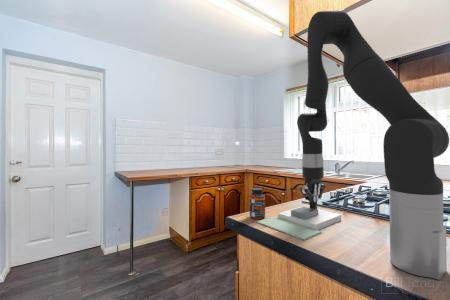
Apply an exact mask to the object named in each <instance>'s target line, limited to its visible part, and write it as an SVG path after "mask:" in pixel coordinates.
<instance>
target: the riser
mask: <svg viewBox="0 0 450 300" xmlns="http://www.w3.org/2000/svg"><path fill="white" fill-rule="evenodd" d="M304 206H305V205H302V206H299V207H295V208H292V209H288V210H285V211H280V212H278V213H277V218H280V219H283V220H287V221H290V222H293V223H296V224H299V225H302V226H305V227H309V228H312V229H315V230H318V231H320V230H321V229H323V228H326V227H328V226H331V225H333V224H336V223H338V222H340V221H342V214H340V213H335V212H330V211H327V210H323V209H319V208H317V210H318V215H317V216H315V217H312V218H309V219H306V220H304V219H301V218H297V217H294V216H291V210H294V209H297V208H300V207H304ZM305 207H307V206H305ZM308 207H309V208H310V206H308Z"/></svg>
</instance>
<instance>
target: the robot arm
mask: <svg viewBox="0 0 450 300" xmlns="http://www.w3.org/2000/svg"><path fill="white" fill-rule="evenodd" d="M306 39H307V85H306V92H305V98H304V99H305V100H304V105H305V107H307V108H309V109H313V110H316V112H304V113H300V114H299V116H298V117H297V120H296V121H297V122H296V125H297V129H298V132H299V135H300V137H301V138H300V139H301V143H302V159H301V165H302V166H301V168H302V174H301V175H302V178H303V179H304V186H303V188H302V187H301V188H300V192H301V194H302V196H303V198H304V199H305V201H308V203H309V207H310V208H313V209H318V202H319V200H320V199H322V196H323V194H324V190H325V188H326V184H322V179H324V176H325V175H324V156H323V155H324V154H323V140H322V139H321V138H319V137H315V136H312V135H311V134H310V132H311V133H313V132H315V133H316V132H323V131H325V129H326V128H327V125H328V116H327V96H328V91H329V85H330V84H329V77H328V74H327V72H326V69H325V66H324V62H323V49H324V45H335V46H336V47H337V49H338V50H339V51H340V52H341V54H342V55H343V63H342V72H343V73H342V74H343V76H344V79H345V81H346V82H347V84H348V85H349V87H350V88H351V89H352V92H354V94H356V95H357V97H359V98H360V100H362V101H363V102H365V103H366V104H367V105H369V107H371V108H372V109H374V110H376V112H378V113H379V114H380V115H382V117H384V119H386V121H387V122H388V123H389V126H388V128H387V129H386V132H385V134H384V137H383V145H382V146H383V148H382V149H383V160H384V161H383V162H384V173H385V177H386V179H387V181H388V187H389V190H388V191H389V193H388V194H389V198H388V199H389V202H388V203H389V255H390V256H389V257H390V260H389V261H390V263H391V264H392V265H393V266H395V267H396V268H397V269H399V270H401V271H403V272H406V273H407V274H411V275H414V276H415V275H416V276H418V277H419V276H420V277H423V278H431V279H435V280H438V281H440V280H441V279H442V277H443V276H444V275H445V273H446V272H447V266H448V265H447V263H448V262H447V228H446V226H444V182H443V180H442V179H441V178H440V177H438V175H437V173H436V170H435V158H438V157H439V156H441V155H443V154H444V153H445V152H446V151H447V149H448V147H449V145H450V136H449V133H448V130H447V129H446V128H445V127H444V125H443V124H442V123H441V122H440V121H439V120H438V119H436V118H435V117H434V116H433V115H432V114H430V113H429V112H428V111H427V110H426V109H425V108H424V107H423V106H422V105H421V104H419V102H417V101H416V100H415V98H414V97H413V96H412V95H411V94H410V93H409V91H408V90H407V88H406V86H405V85H404V84H403V83H402V82H401V81H400V79H399V78H398V77H397V76H396V74H395V73H394V72H393V71H392V69H391V68H390V66H389V65H388V64H387V63H386V62H385V61H384V59H383V58H382V57H381V56H380V55H379V54H378V53H377V52H376V51H375V50H374V49H373V47H372V46H371V45H370V43H369V42H367V40H366V38H364V37H363V35H362V34H361V32H360V31H359V29H358V28H357V26H356V25H355V23H354V21H353V19H352V17H351V16H350V15H349V14H348V13H347V12H346V11H343V10H320V11H317V12H315V13H314V14H313V15H312V16H311V18H310V19H309V22H308V28H307V38H306Z"/></svg>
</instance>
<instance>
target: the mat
mask: <svg viewBox="0 0 450 300" xmlns="http://www.w3.org/2000/svg"><path fill="white" fill-rule="evenodd" d="M256 223H257V224H260V225H262V226H265V227H267V228H270V229H272V230H273V229H274V230H276V231H278V232H281V233H283V234H286V235H289V236H291V237H294V238H297V239H299V240H302V241H306V240H308V239H310V238H312V237H315V236H318V235H319V234H321V233H322V230H321V231H320V230H315V229H312V228H309V227H305V226H302V225H299V224H296V223H293V222H290V221H287V220H283V219H280V218H278V216H271V217H268V218H263V219H259V220H257V221H256Z"/></svg>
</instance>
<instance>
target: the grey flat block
mask: <svg viewBox="0 0 450 300" xmlns="http://www.w3.org/2000/svg"><path fill="white" fill-rule="evenodd" d="M303 206H304V207H302V206H299V207H300V208H298V207H296V208H297V209H295V208H293V209H294V210H291V209H290V210H291V216H294V217H297V218H301V219H304V220H306V219H309V218H312V217H315V216H317V215H318V210H317V209H318V208H317V209H313V208H309V207H310V206H306V207H305V205H303Z"/></svg>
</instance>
